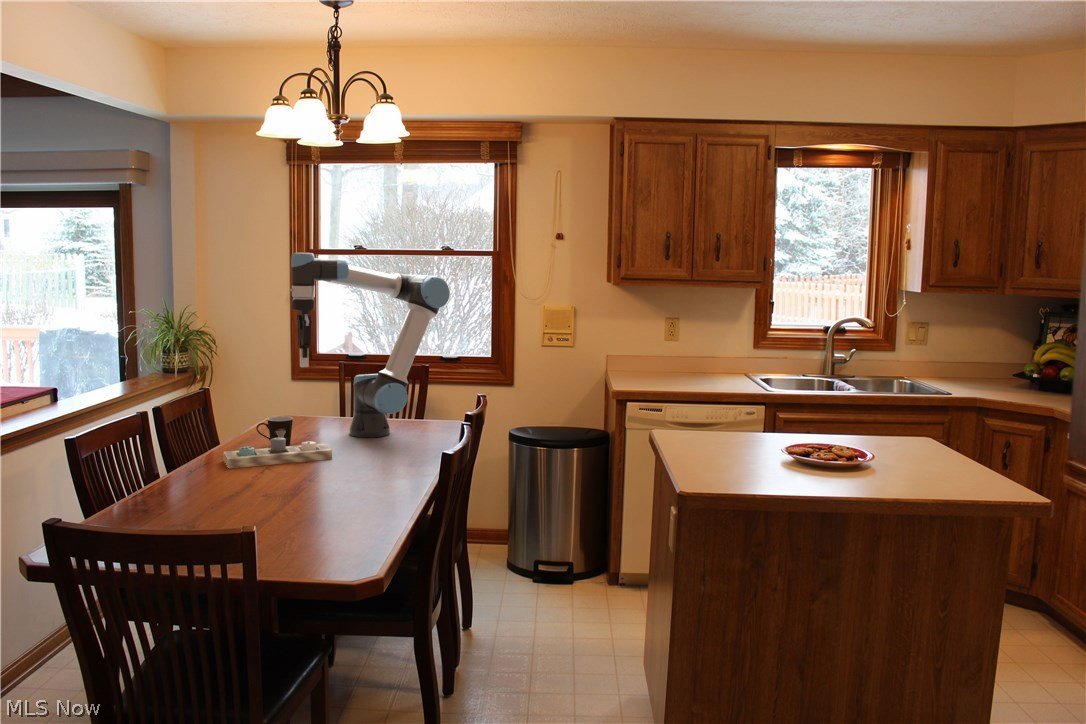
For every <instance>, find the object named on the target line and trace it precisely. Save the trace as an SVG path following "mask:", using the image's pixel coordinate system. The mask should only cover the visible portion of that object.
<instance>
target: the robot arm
mask: <svg viewBox="0 0 1086 724" xmlns="http://www.w3.org/2000/svg"><path fill="white" fill-rule="evenodd" d="M290 259H291V260H290V261H291V263H290V268H291V269H290V272H291V288H290V289H289V291H290V292H291V297H292V300H291V309H292V310H293V311H297V312H298V313H297V314H296V318H295V320H296V328H297V330H296V331H297V345H298V349H299V367H300V368H309V367H310V363H309V361H310V360H309V359H310V355H309V354H310V353H309V350H310V349H309V348H311V333H312V330H311V329H312V328H311V327H312V323H313V321H312V319H311V315H310V312H309V311H315V309H316V305H315V304H316V303H315V302H316V301H315V299H314V298H316V296H315V295H316V286H315V281H316V282H318V281H321V282H328V283H333V284H337V285H341V286H342V285H343V286H347V287H352V288H357V289H362V290H367V291H371V292H375V293H381V294H386V295H389V297H390V298H392V299H395V300H400V301H404V302H406V303H407V304H406V305H407V308H408V312H407V313H406V314H407V315H406V316H405V319H404V321H403V324H402V327H401V328H400V331H399V334H398V335H397V338H396V341H395V343H394V345H393V347H392V351H391V353H390V355H389V357H388V360H387V362H386V365H385V368H384V369H382V370H380V371H378V372H377V373H368V374H367V373H365V374H356V375H355V376H354V379H353V384H352V385H353V417H352V420H351V423H350V425H349V426H350V427H349V435H350V436H352V437H354V438H356V437H357V438H379V437H386V436H388V435H390V433H391V427H390V424H389V421H388V418H387V417H388V416H387V415H386V414H388V415H393V414H394V415H395V414H397V413H399V412H401V411H402V410H403V408H405V406H406V404H407V402H408V397H409V396H408V391H407V388H408V386H409V381H408V378H407V377H408V375H409V372H410V370H411V368H412V365H413V363H414V359H415V358H416V355H417V352H418V350H419V348H420V346H421V344H422V340H423V338H424V335H425V333H426V330H427V329H428V326H429V323H430V321H431V319H433V318H435V317H437V315H438V313H439V310H440V308H443V307H445V306H446V304H447V303H448V301H449V300H450V293H451V291H450V288H449V285H448V283H447V282H446V281H445V280H444V278H441V277H439V276H437V275H433V274H430V275H427V274H403V273H398V272H396V273H394V274H391V273H386V272H382V271H378V270H377V271H376V270H372V269H368V268H364V267H359V266H355V265H349V263H348V261H347V260H346V259H343V258H319V257H318V258H317V257H315V254H314V253H312V252H294V253H292V254H291V258H290Z"/></svg>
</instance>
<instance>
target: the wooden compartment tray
mask: <svg viewBox="0 0 1086 724" xmlns="http://www.w3.org/2000/svg"><path fill="white" fill-rule="evenodd" d="M222 455H223V462H224V461H225V462H224V464H225V463H226V464H225V466H226V465H227V466H226V467H228V468H229V469H237V468H238V469H239V467H240V468H249V467H258V466H259V467H260V466H269V465H270V466H271V465H282V464H292V463H301V462H313V461H324V460H326V461H327V460H332V459H333V450H332V448H330V447H329V446H328V445H327V444H326V443H316V450H308V451H301V444H299V445H290V446H286V452H285V453H274V454H271V447H264V448H254V455H251V456H239V450H228V451H223V454H222ZM228 468H227V469H228Z"/></svg>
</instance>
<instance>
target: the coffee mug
mask: <svg viewBox="0 0 1086 724" xmlns="http://www.w3.org/2000/svg"><path fill="white" fill-rule="evenodd" d="M266 420H267V423H265V422H260V423H257V425H256V432H257V433H258V434H259V435H260V436H261V437H264V438H265V439H267V440H269V441H270V439H272V438H285V439H286V446H291V440H292V433H293V432H292V431H293V423H294V418H293V417H292V416H284V415H282V416H272V417H268V418H267V419H266ZM261 425H264V426H266V428H267V429H268V433H269V436H267V435H265V434H263V433H261V431H260V430H259V426H261Z"/></svg>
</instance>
